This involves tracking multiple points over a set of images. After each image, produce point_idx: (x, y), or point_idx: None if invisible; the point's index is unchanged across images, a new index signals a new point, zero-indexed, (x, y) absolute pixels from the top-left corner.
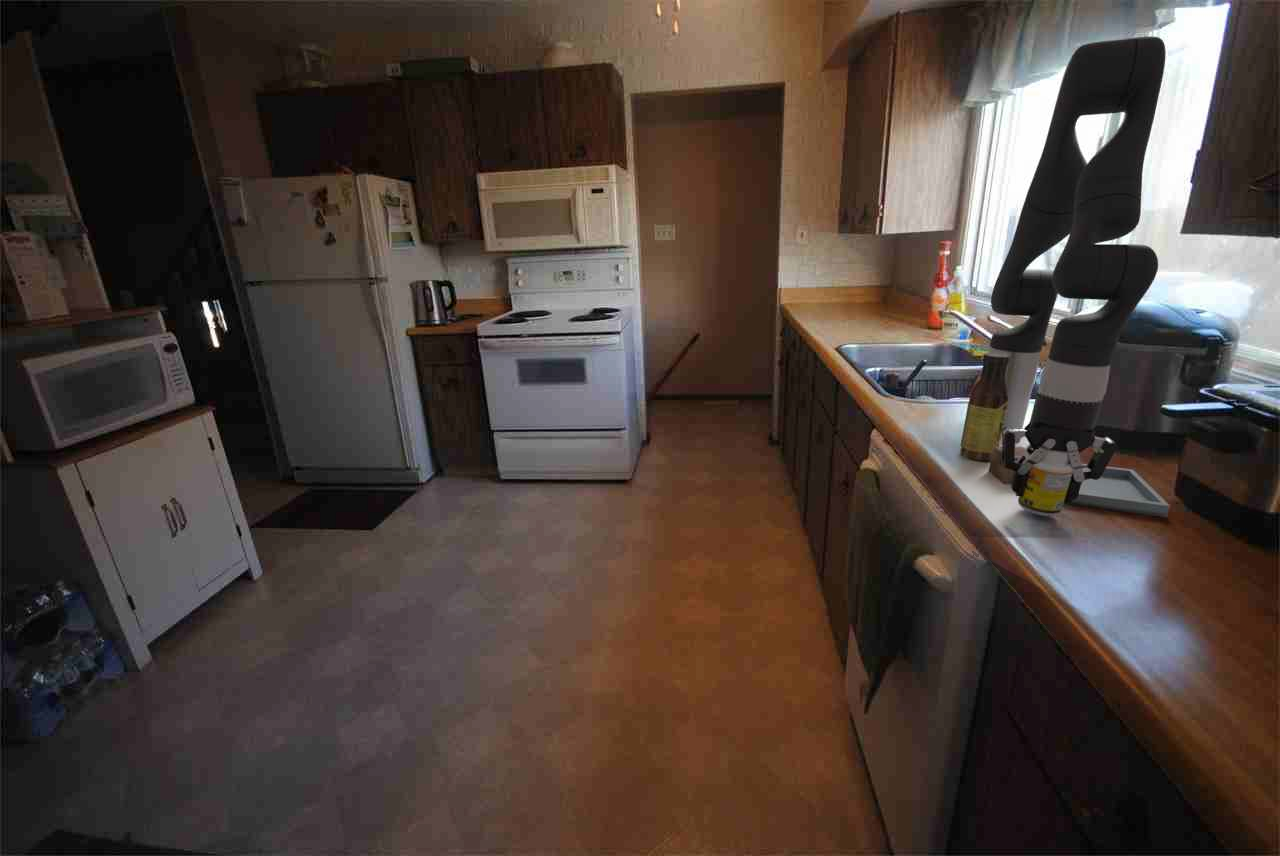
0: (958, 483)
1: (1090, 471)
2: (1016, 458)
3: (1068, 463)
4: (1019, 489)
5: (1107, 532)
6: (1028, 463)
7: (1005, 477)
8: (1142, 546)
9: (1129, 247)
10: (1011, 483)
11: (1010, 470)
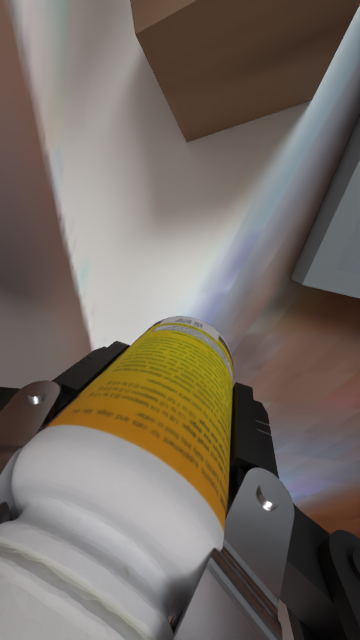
0: (59, 180)
1: (298, 616)
2: (179, 12)
3: (170, 609)
4: None
5: (305, 421)
6: None
7: (178, 124)
8: (337, 468)
9: None
10: (89, 356)
11: (183, 96)
